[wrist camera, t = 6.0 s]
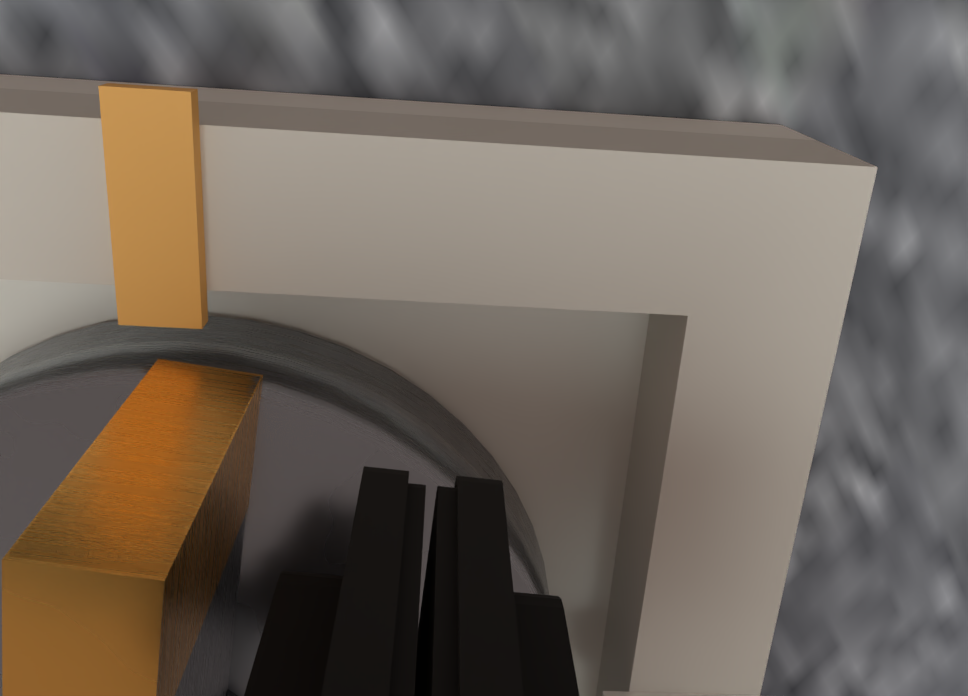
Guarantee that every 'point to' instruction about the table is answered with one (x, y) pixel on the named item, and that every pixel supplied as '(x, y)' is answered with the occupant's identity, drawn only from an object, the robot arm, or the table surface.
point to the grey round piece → (196, 496)
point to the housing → (493, 310)
